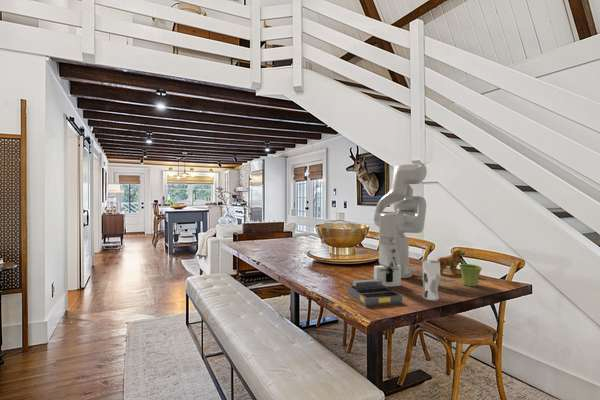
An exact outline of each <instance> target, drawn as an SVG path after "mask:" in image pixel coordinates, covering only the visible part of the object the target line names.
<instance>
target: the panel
mask: <svg viewBox="0 0 600 400" xmlns="http://www.w3.org/2000/svg"><path fill="white" fill-rule="evenodd" d="M390 266H391V265H390ZM389 269H390V268H389ZM386 273H387V266H385V265H382V266H381V265H374V266H373V279H380V280H382V281H383V282H382V285H384V286H386V287H388V288H390V287H400V286H401V285H402V284H401V283H402V282H401V281H402V278H401V266H400V265H398V266H397V267H396V270H394V273H393V282H386Z"/></svg>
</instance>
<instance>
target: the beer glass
mask: <svg viewBox="0 0 600 400" xmlns="http://www.w3.org/2000/svg"><path fill="white" fill-rule="evenodd" d="M421 279H422V284H423V285H422V286H423V292H422V297H421V298H422V299H424V300H426V301H430V302H431V301H432V302H436V301H439V299H440V298H439V284H440V279H441V275H440V262H439V261H437V259H424V260H422V261H421Z"/></svg>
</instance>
